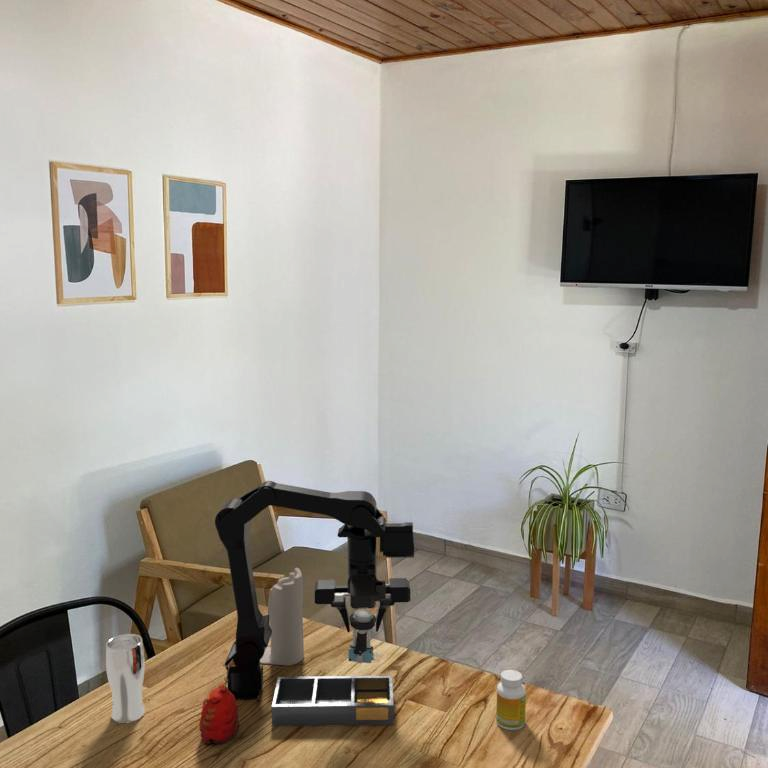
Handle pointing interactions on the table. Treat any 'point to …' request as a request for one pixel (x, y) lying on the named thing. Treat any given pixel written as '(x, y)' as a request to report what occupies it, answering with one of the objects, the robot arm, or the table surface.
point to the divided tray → (333, 701)
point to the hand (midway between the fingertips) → (362, 631)
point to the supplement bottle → (511, 701)
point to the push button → (362, 637)
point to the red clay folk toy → (219, 715)
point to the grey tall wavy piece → (286, 621)
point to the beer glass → (126, 676)
